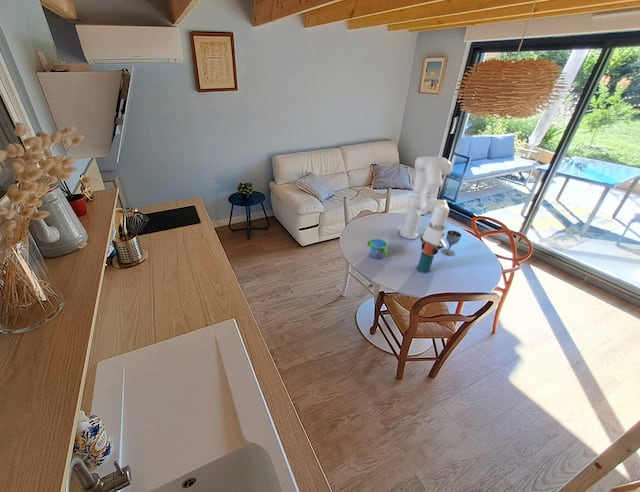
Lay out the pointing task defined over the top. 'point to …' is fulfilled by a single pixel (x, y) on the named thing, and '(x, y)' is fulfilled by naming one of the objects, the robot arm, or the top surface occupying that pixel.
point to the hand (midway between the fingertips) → (428, 251)
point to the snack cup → (377, 248)
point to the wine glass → (451, 241)
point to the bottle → (425, 262)
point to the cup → (428, 248)
